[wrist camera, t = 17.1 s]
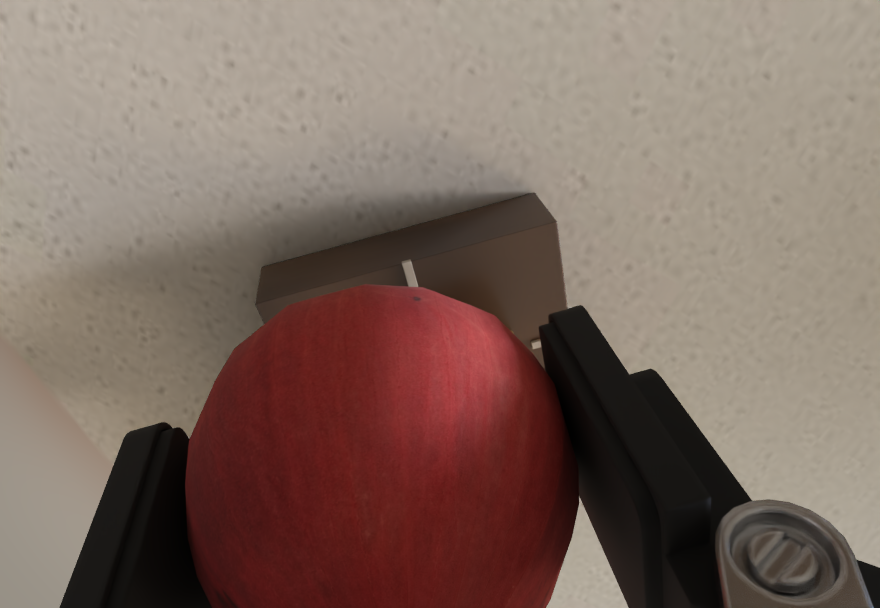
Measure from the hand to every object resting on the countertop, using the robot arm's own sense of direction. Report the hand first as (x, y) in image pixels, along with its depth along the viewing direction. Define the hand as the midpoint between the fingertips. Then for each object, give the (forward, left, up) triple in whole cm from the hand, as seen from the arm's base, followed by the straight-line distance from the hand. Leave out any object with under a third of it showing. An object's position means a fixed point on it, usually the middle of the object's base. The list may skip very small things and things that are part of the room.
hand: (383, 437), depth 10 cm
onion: (0, 0, -3) cm, 3 cm away
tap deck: (+1, -10, -16) cm, 19 cm away
